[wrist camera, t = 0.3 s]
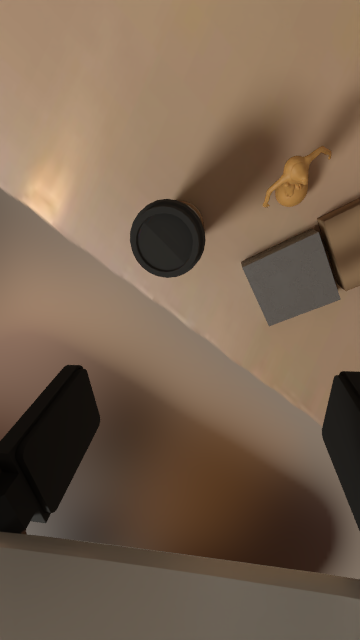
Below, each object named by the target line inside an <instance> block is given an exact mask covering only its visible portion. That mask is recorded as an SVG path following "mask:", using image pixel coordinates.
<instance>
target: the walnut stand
mask: <svg viewBox="0 0 360 640" xmlns="http://www.w3.org/2000/svg"><path fill="white" fill-rule="evenodd" d="M317 220H318V223H319V226H320V230H321V233H322V236H323V239H324V242H325V245H326V248H327V251H328V254H329V258H330V261H331V264H332V267H333V270H334V273H335V276H336V279H337V282H338V285H340V286H341V287H342V288H343V289H344V290H345V291H347V290H350V289H353V288H355V287H358V286H360V198H359V199H357V200H355V201H353V202H351V203H349V204H347V205H345V206H342V207H340V208H338V209H336V210H334V211H332V212H330V213H328V214H326V215H324V216H322V217H320V218H318V219H317Z"/></svg>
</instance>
